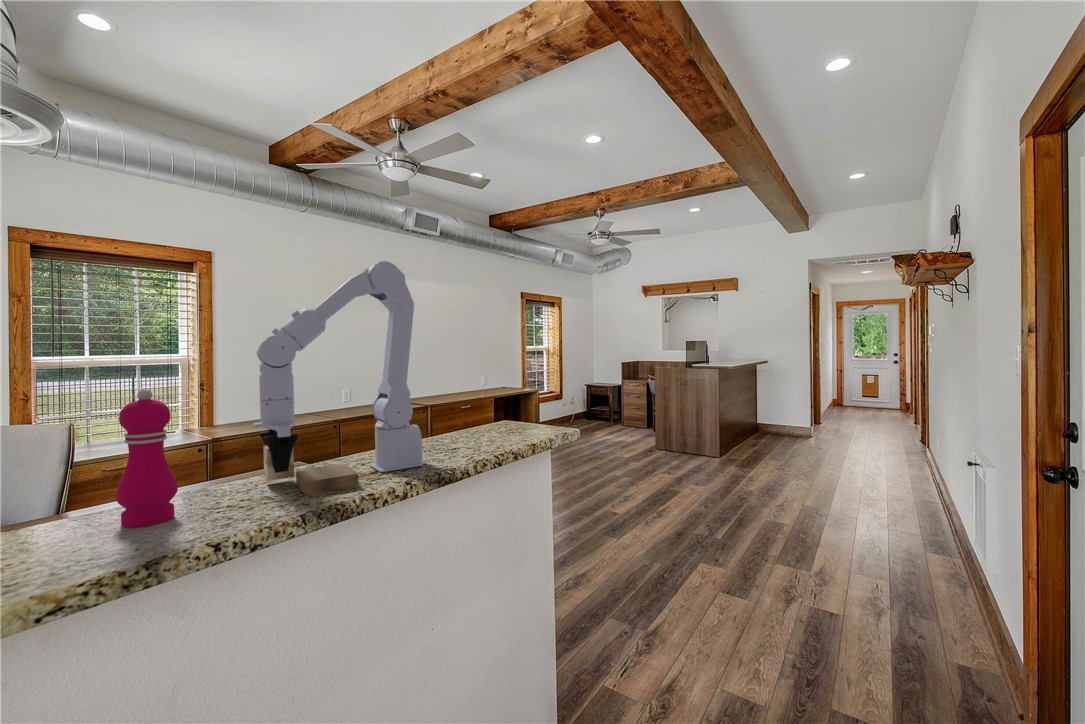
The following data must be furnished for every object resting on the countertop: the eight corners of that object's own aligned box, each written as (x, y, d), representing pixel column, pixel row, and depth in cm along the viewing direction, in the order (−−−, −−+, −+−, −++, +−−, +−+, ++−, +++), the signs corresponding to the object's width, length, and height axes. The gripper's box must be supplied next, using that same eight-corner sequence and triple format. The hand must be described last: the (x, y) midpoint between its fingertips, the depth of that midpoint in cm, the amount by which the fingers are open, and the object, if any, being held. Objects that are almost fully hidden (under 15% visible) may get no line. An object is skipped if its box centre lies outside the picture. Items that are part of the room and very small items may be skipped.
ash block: (290, 472, 95) (289, 442, 95) (294, 476, 91) (293, 445, 91) (264, 475, 92) (263, 445, 92) (267, 480, 89) (266, 449, 88)
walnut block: (345, 478, 96) (345, 464, 96) (358, 489, 89) (358, 473, 89) (296, 486, 91) (296, 471, 91) (305, 498, 84) (305, 481, 84)
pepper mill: (146, 511, 76) (142, 387, 75) (190, 512, 76) (186, 387, 75) (102, 529, 69) (98, 391, 68) (151, 529, 69) (147, 391, 68)
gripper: (248, 397, 95) (250, 464, 95) (257, 403, 83) (259, 480, 84) (288, 395, 99) (289, 459, 99) (302, 400, 87) (303, 474, 88)
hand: (278, 468), depth 92 cm, fingers closed on ash block, 4 cm apart
